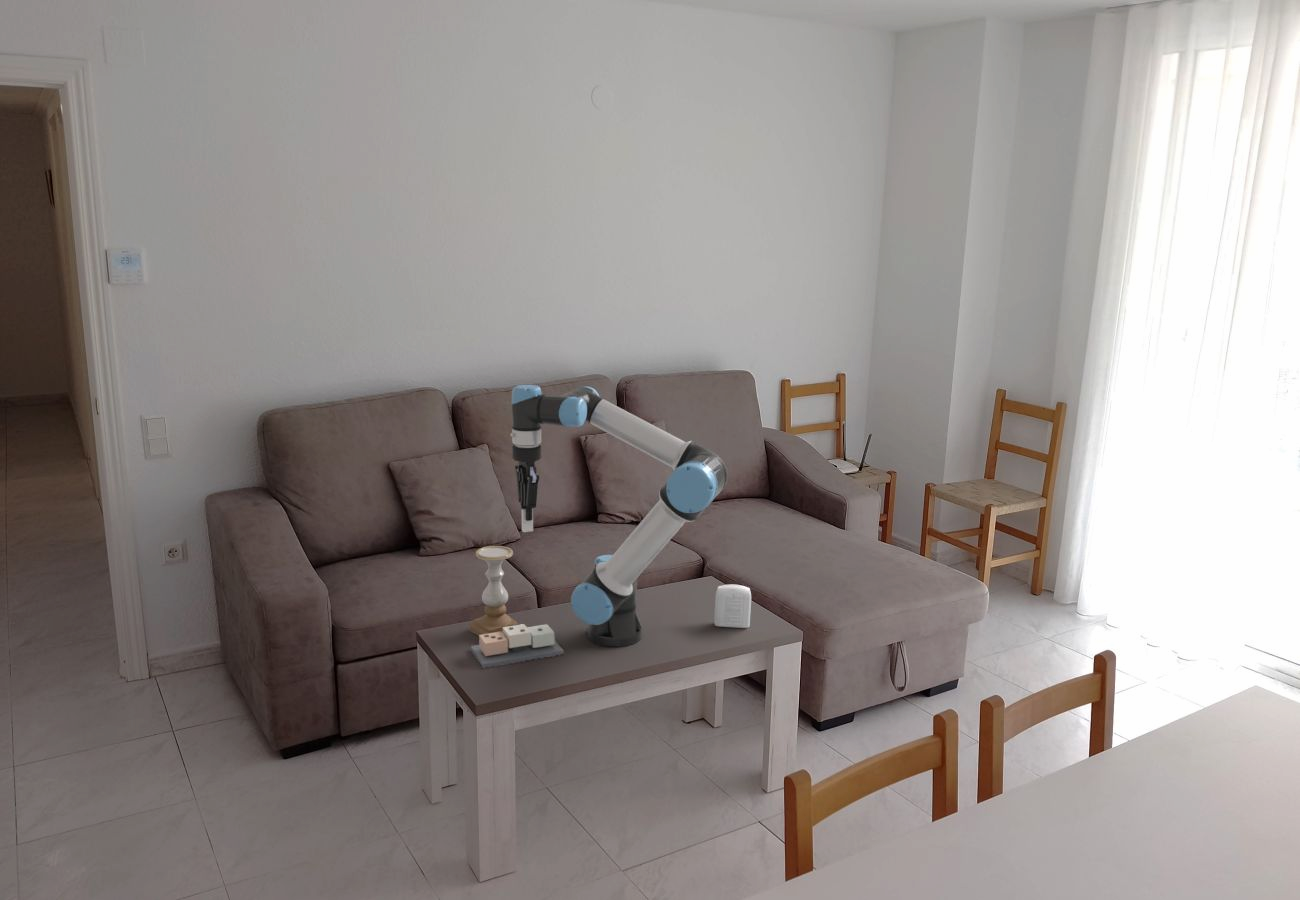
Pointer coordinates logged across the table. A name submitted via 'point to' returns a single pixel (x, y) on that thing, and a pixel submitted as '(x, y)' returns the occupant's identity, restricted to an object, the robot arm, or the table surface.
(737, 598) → the photo printer
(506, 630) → the two pip key
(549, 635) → the one pip key
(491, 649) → the three pip key
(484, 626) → the candle holder
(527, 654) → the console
